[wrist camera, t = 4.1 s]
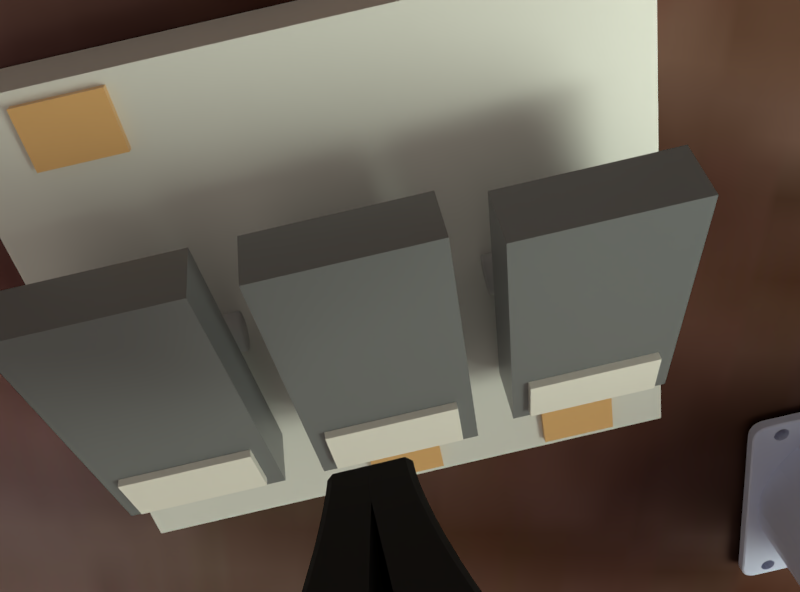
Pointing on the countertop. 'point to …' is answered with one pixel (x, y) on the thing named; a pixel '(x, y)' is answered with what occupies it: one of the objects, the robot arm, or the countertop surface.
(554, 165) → the switch unit
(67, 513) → the countertop surface
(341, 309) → the rocker middle
